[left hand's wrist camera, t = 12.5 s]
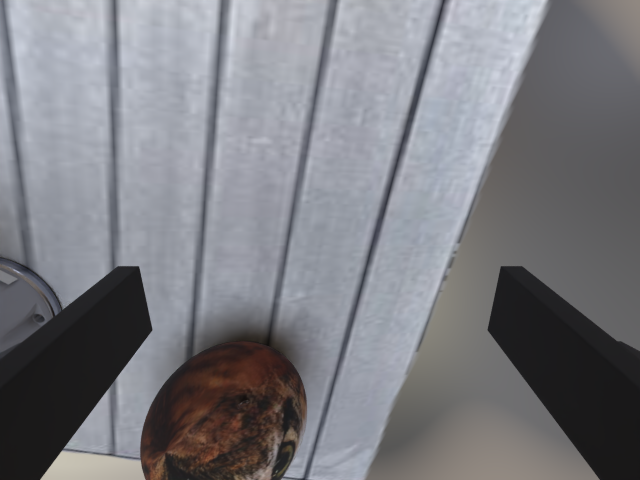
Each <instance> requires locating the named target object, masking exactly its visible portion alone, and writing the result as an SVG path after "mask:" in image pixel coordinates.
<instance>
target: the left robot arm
mask: <svg viewBox="0 0 640 480" xmlns="http://www.w3.org/2000/svg"><path fill="white" fill-rule="evenodd" d="M151 331H152V326H151V321H150V316H149V312H148V307H147V302H146V297H145V292H144V288H143V283H142V278H141V273H140V269H139V266H118V267H116V268H115V269H114V270H113V271H111V272H110V273H109V274H108V275H106V276H105V277H104V278H103V279H101V280H100V281H99V282H97V283H96V284H95V285H94V286H92V287H91V288H90V289H89V290H87V291H86V292H85V293H84V294H82V295H81V296H80V297H78V298H77V299H76V300H75V301H73V302H72V303H71V304H70V305H68V306H67V307H66V308H65V309H63V310H62V311H61V308H60V305H59V302H58V300H57V298H56V297H55V295H54V293H53V292H52V291H51V289H50V288H49V287H48V286H47V284H46V283H45V282H44V281H43V280H42V279H40V278H39V277H38V276H37V275H36V274H34V273H33V272H32V271H30V270H28V269H27V268H25V267H23V266H21V265H19V264H17V263H15V262H13V261H10V260H7V259H3V258H0V480H40V479H41V478H42V476H43V475H44V474H45V472H46V471H47V470H48V468H49V467H50V466H51V464H52V463H53V462H54V460H55V459H56V458H57V456H58V455H59V454H60V452H61V451H62V450H63V448H64V447H65V446H66V444H67V443H68V442H69V440H70V439H71V438H72V436H73V435H74V434H75V432H76V431H77V430H78V428H79V427H80V426H81V425H82V423H83V422H84V421H85V419H86V418H87V417H88V415H89V414H90V413H91V411H92V410H93V409H94V407H95V406H96V405H97V403H98V402H99V401H100V399H101V398H102V397H103V395H104V394H105V393H106V391H107V390H108V389H109V387H110V386H111V385H112V383H113V382H114V381H115V379H116V378H117V377H118V375H119V374H120V373H121V371H122V370H123V369H124V367H125V366H126V365H127V363H128V362H129V361H130V359H131V358H132V357H133V355H134V354H135V353H136V351H137V350H138V349H139V347H140V346H141V345H142V343H143V342H144V341H145V339H146V338H147V337H148V335H149V334H150V333H151ZM488 331H489V333H490V334H491V335H492V337H493V338H494V339H495V341H496V342H497V343H498V345H499V346H500V347H501V349H502V350H503V351H504V353H505V354H506V355H507V357H508V358H509V359H510V361H511V362H512V363H513V365H514V366H515V367H516V369H517V370H518V371H519V373H520V374H521V375H522V377H523V378H524V379H525V380H526V382H527V383H528V385H529V386H530V387H531V389H532V390H533V391H534V393H535V394H536V395H537V397H538V398H539V399H540V401H541V402H542V403H543V405H544V406H545V407H546V409H547V410H548V411H549V413H550V414H551V415H552V416H553V418H554V419H555V421H556V422H557V423H558V424H559V426H560V427H561V428H562V430H563V431H564V432H565V434H566V435H567V436H568V438H569V439H570V440H571V442H572V443H573V444H574V446H575V447H576V448H577V450H578V451H579V452H580V454H581V455H582V456H583V458H584V459H585V460H586V462H587V463H588V464H589V466H590V467H591V468H592V470H593V471H594V472H595V474H596V475H597V476H598V478H599V479H600V480H640V351H638V350H636V349H634V348H633V347H630V346H629V345H627V344H625V343H623V342H621V341H620V342H618V341H616V340H615V339H614V338H612V337H611V336H610V335H608V334H607V333H606V332H605V331H603V330H602V329H601V328H600V327H598V326H597V325H596V324H594V323H593V322H592V321H591V320H589V319H588V318H587V317H586V316H584V315H583V314H582V313H581V312H579V311H578V310H577V309H575V308H574V307H573V306H572V305H570V304H569V303H568V302H567V301H565V300H564V299H563V298H562V297H560V296H559V295H558V294H556V293H555V292H554V291H553V290H551V289H550V288H549V287H548V286H546V285H545V284H544V283H542V282H541V281H540V280H539V279H537V278H536V277H535V276H534V275H532V274H531V273H530V272H529V271H527V270H526V269H525V268H524V267H522V266H501V269H500V273H499V278H498V283H497V288H496V293H495V297H494V302H493V307H492V312H491V316H490V321H489V326H488Z"/></svg>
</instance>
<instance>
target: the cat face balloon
mask: <svg viewBox="0 0 640 480" xmlns="http://www.w3.org/2000/svg"><path fill="white" fill-rule="evenodd" d="M306 420H307V400H306V394H305V389H304V386H303V383H302V380H301V378H300V376H299V374H298V372H297V370H296V369H295V367H294V366H293V365H292V363H291V362H290V361H289V360H288V359H287V358H286V357H285V356H284V355H283V354H281V353H280V352H278V351H277V350H275V349H273V348H271V347H269V346H267V345H264V344H261V343H256V342H249V341H236V342H229V343H224V344H220V345H217V346H214V347H211V348H209V349H207V350H205V351H203V352H201V353H199V354H197V355H196V356H194V357H192V358H191V359H190V360H188V361H187V362H185V363H184V364H183V365H182V366H181V367H179V368H178V369H177V370H176V371H175V372H174V373H173V374H172V375H171V376H170V378H169V379H168V380H167V381H166V382H165V384H164V385H163V386H162V388H161V389H160V391H159V392H158V394H157V395H156V397H155V399H154V401H153V402H152V404H151V407H150V409H149V411H148V414H147V416H146V420H145V423H144V426H143V431H142V436H141V446H140V457H141V464H142V469H143V473H144V476H145V479H146V480H281V479H282V477H283V476H284V475H285V473H286V472H287V470H288V469H289V467H290V466H291V464H292V462H293V460H294V459H295V457H296V455H297V452H298V450H299V448H300V445H301V442H302V439H303V436H304V432H305V427H306Z"/></svg>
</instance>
